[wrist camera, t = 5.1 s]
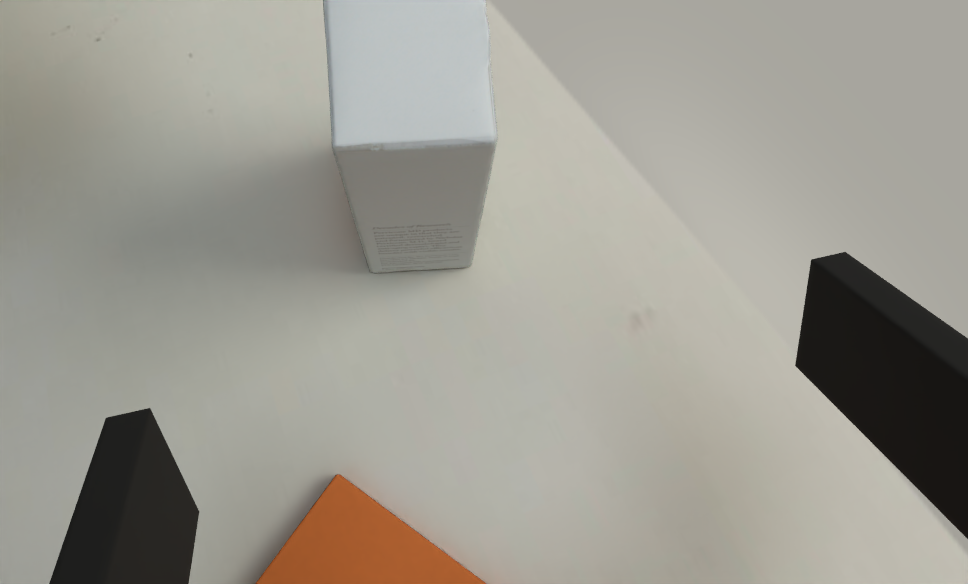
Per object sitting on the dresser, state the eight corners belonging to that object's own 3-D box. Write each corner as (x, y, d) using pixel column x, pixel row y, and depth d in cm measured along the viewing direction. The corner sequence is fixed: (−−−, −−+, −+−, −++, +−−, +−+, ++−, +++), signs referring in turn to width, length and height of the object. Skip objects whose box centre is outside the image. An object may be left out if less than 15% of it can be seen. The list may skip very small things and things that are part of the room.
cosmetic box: (359, 139, 30) (318, -70, 18) (461, 134, 30) (483, -73, 19) (366, 279, 29) (327, 149, 17) (473, 272, 29) (505, 141, 17)
